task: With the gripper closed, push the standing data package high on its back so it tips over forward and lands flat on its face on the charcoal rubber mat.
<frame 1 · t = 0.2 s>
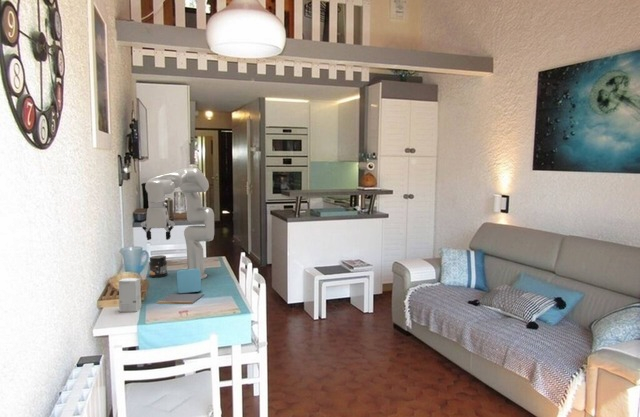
hand: (158, 239, 224), 31 cm above the table, tool pointing down, fingers open, 9 cm apart
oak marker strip: (175, 303, 220), on the table
data package: (189, 292, 237), on the table, touching rubber mat
rubber mat: (181, 298, 227), on the table
skincare box: (131, 310, 212), on the table
supplement container: (158, 276, 278), on the table
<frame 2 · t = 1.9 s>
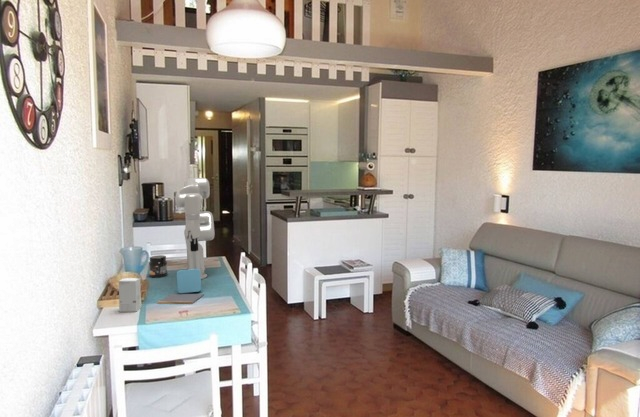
hand: (194, 250, 244), 21 cm above the table, tool pointing down, fingers closed
nothing on the table moved.
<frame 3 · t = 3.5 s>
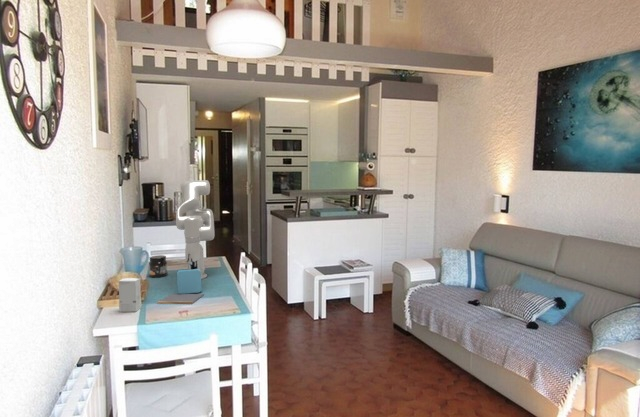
hand: (194, 273, 243), 9 cm above the table, tool pointing down, fingers closed
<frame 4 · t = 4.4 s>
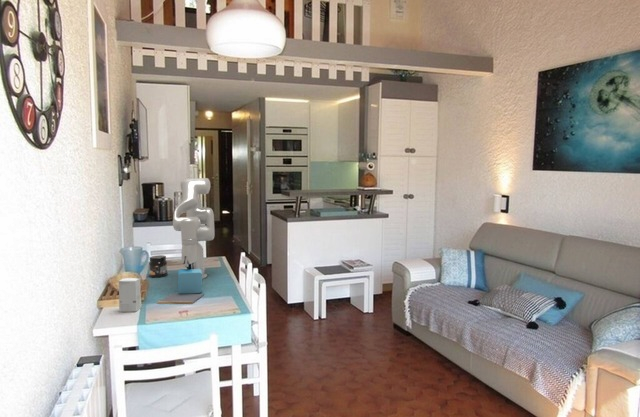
hand: (191, 275, 239), 9 cm above the table, tool pointing down, fingers closed
data package: (189, 292, 237), point 1 cm above the table, touching gripper, rubber mat
everything else where it was.
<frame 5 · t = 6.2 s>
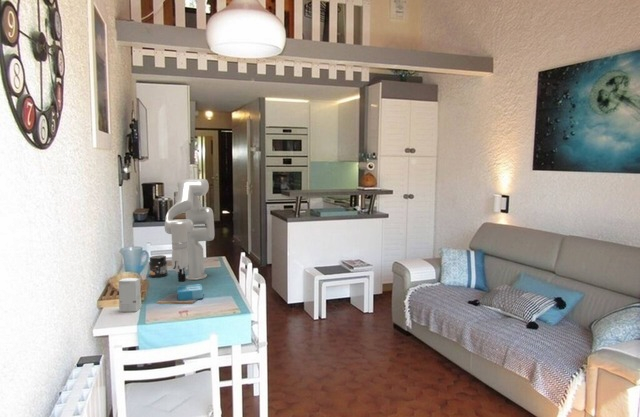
hand: (182, 281, 228), 9 cm above the table, tool pointing down, fingers closed
data package: (189, 289, 235), point 3 cm above the table, touching rubber mat
everything else where it was.
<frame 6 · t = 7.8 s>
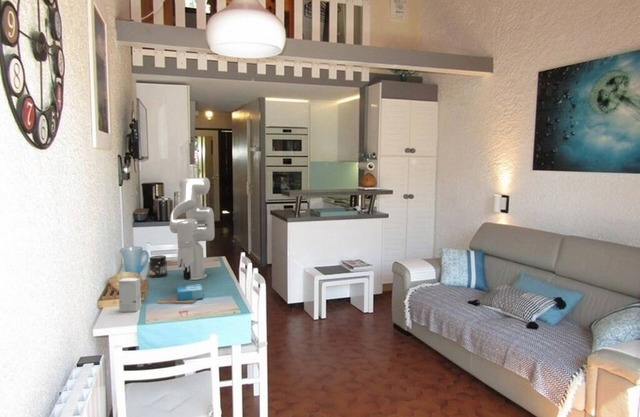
hand: (187, 279, 235), 8 cm above the table, tool pointing down, fingers closed
nothing on the table moved.
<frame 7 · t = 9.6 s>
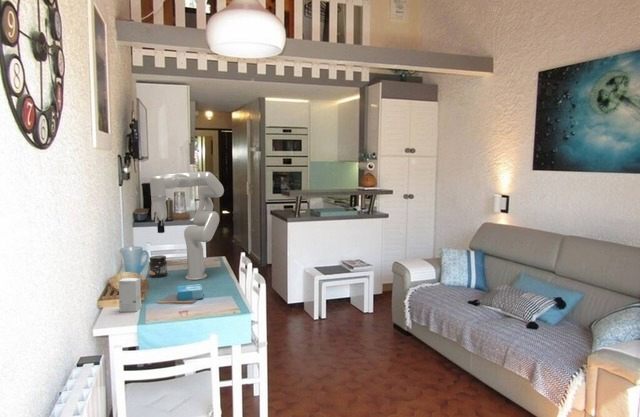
hand: (161, 232, 244), 31 cm above the table, tool pointing down, fingers closed
nothing on the table moved.
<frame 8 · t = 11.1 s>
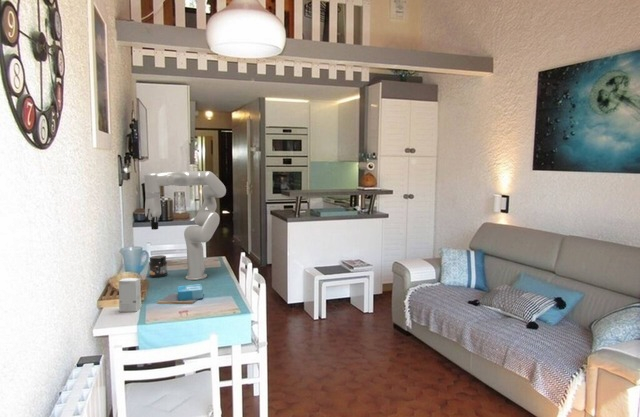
hand: (154, 229, 246), 33 cm above the table, tool pointing down, fingers closed
nothing on the table moved.
at the end: data package tilted 90°; data package inside the target area (8.0 cm from its centre), point 2.9 cm above the table; data package moved 3.6 cm from its start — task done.
